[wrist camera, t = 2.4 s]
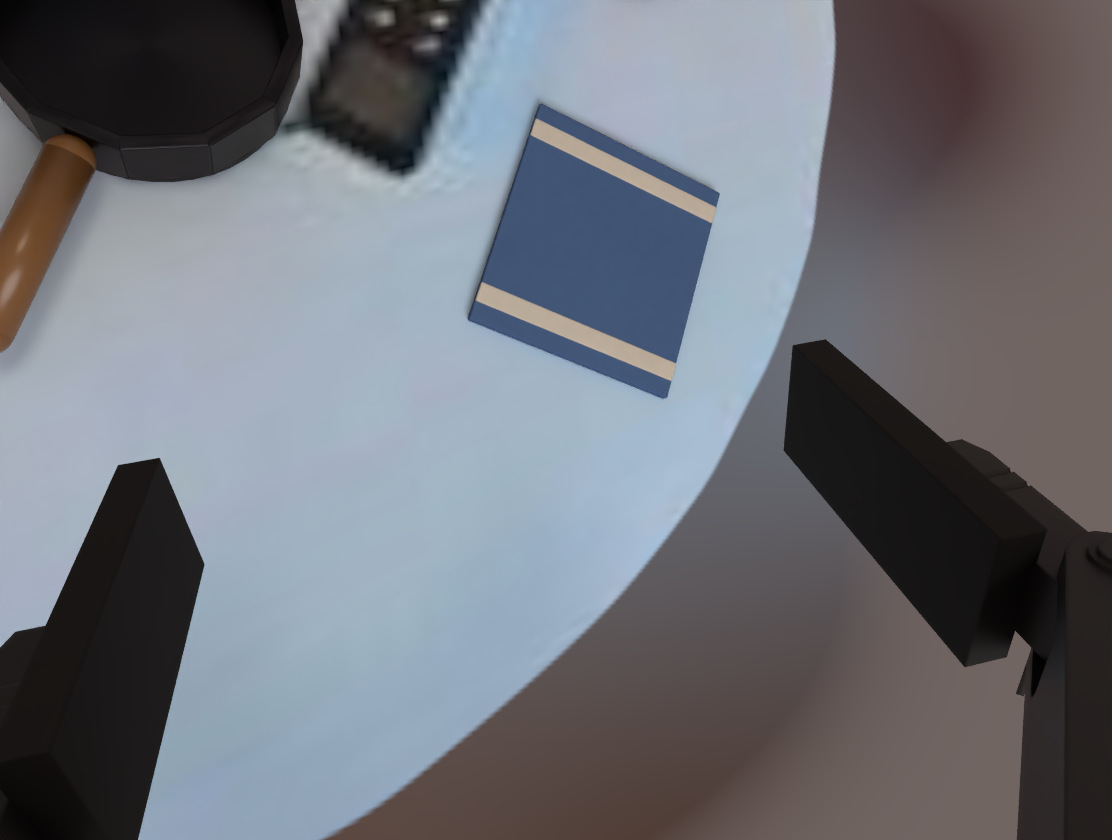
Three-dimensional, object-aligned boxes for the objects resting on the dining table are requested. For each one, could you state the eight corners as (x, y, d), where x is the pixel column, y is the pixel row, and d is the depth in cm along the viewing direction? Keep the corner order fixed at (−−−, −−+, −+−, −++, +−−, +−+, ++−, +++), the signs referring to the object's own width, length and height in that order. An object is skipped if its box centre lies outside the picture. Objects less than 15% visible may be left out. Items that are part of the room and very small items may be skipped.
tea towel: (467, 319, 38) (469, 317, 37) (538, 107, 40) (541, 102, 40) (663, 399, 41) (667, 397, 40) (716, 196, 44) (720, 192, 43)
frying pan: (56, -134, 34) (36, -201, 31) (332, 4, 37) (339, -44, 34) (-189, 307, 29) (-241, 280, 26) (157, 419, 32) (146, 406, 29)
